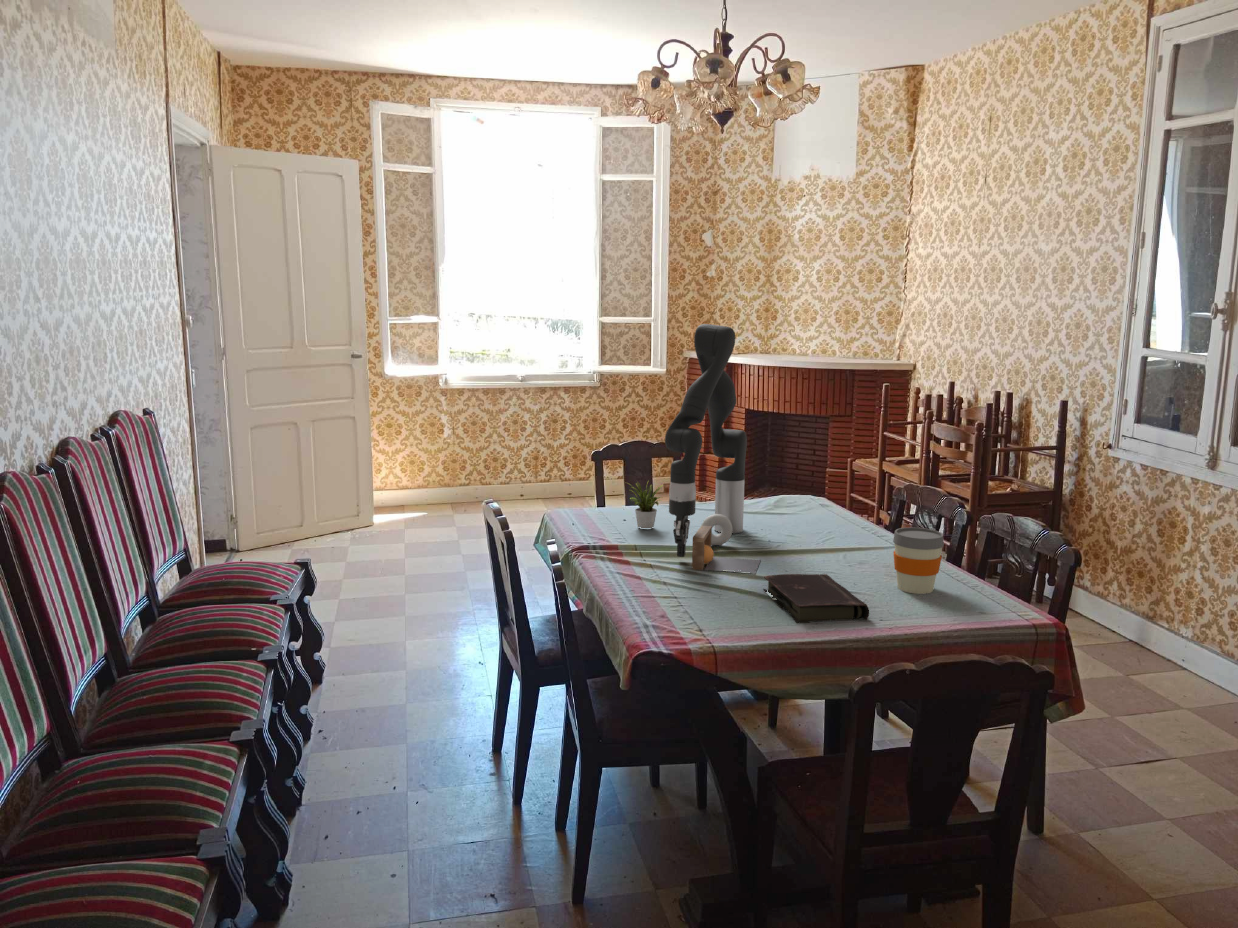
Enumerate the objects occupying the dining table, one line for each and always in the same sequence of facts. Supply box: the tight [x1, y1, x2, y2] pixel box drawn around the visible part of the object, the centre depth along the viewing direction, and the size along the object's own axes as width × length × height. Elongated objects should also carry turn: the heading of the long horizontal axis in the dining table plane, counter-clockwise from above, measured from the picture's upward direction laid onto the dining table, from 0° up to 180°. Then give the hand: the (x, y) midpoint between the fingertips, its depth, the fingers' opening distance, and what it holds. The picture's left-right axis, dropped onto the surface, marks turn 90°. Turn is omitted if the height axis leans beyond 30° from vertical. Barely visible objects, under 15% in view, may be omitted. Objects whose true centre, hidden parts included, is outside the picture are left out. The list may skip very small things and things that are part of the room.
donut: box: [700, 513, 733, 546], centre depth 285 cm, size 10×4×10 cm, turn 99°
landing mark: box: [704, 555, 762, 574], centre depth 264 cm, size 14×14×1 cm
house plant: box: [626, 479, 666, 528], centre depth 305 cm, size 14×14×16 cm
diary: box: [763, 573, 870, 624], centre depth 231 cm, size 19×25×5 cm
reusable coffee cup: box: [892, 527, 945, 595], centre depth 243 cm, size 13×13×15 cm
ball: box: [704, 545, 715, 565], centre depth 265 cm, size 6×6×6 cm
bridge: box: [691, 526, 713, 571], centre depth 266 cm, size 3×14×9 cm, turn 165°
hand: (681, 556), depth 268 cm, fingers closed
